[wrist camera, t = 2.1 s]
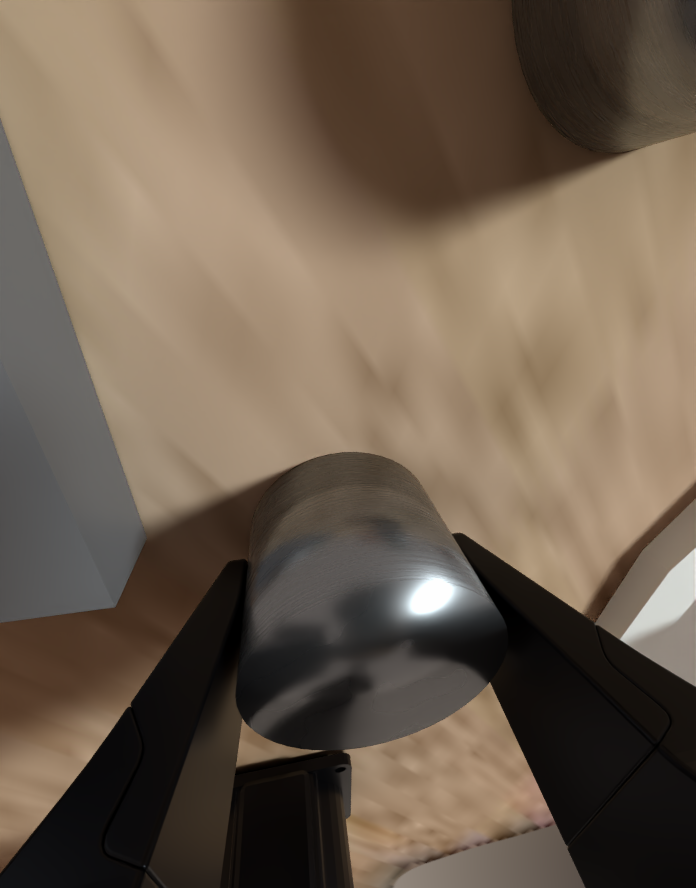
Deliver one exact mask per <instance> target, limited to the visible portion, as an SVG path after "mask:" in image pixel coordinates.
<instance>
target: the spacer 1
mask: <svg viewBox="0 0 696 888" xmlns="http://www.w3.org/2000/svg"><path fill="white" fill-rule="evenodd" d="M507 647H508V632H507V626H506V624H505V622H504V619H503V617H502V615H501V614H500V612H499V610H498V609H497V607H496V606H495V604H494V602H493V601H492V599H491V597H490V596H489V594H488V593H487V591H486V589H485V588H484V586H483V584H482V583H481V581H480V580H479V578H478V576H477V575H476V573H475V571H474V570H473V568H472V566H471V565H470V563H469V562H468V560H467V558H466V557H465V555H464V553H463V552H462V550H461V549H460V547H459V545H458V544H457V542H456V540H455V539H454V537H453V536H452V534H451V532H450V531H449V529H448V527H447V526H446V524H445V523H444V521H443V519H442V518H441V516H440V514H439V513H438V511H437V509H436V508H435V506H434V505H433V503H432V501H431V500H430V498H429V496H428V495H427V493H426V492H425V490H424V488H423V487H422V485H421V484H420V482H419V481H418V479H417V478H416V477H415V476H414V475H413V474H412V473H411V472H410V471H409V470H407V469H406V468H405V467H403V466H402V465H400V464H398V463H396V462H395V461H393V460H390V459H388V458H385V457H382V456H378V455H374V454H369V453H359V452H347V453H337V454H330V455H326V456H322V457H318V458H315V459H313V460H310V461H307V462H305V463H303V464H301V465H299V466H297V467H295V468H293V469H292V470H290V471H289V472H287V473H286V474H284V475H283V476H282V477H281V478H279V479H278V480H277V481H276V482H275V483H274V484H273V485H272V486H271V487H270V488H269V489H268V490H267V492H266V493H265V494H264V496H263V497H262V499H261V500H260V502H259V504H258V506H257V508H256V510H255V513H254V516H253V520H252V527H251V537H250V547H249V557H248V568H247V578H246V588H245V599H244V609H243V619H242V630H241V640H240V650H239V661H238V671H237V681H236V692H235V698H236V705H237V708H238V711H239V713H240V715H241V717H242V718H243V720H244V721H245V722H246V724H247V725H248V726H249V727H250V728H252V729H253V730H254V731H255V732H257V733H258V734H260V735H261V736H263V737H264V738H267V739H269V740H271V741H273V742H276V743H279V744H282V745H286V746H290V747H295V748H300V749H309V750H345V749H354V748H361V747H367V746H372V745H377V744H381V743H385V742H389V741H392V740H395V739H399V738H402V737H405V736H407V735H410V734H413V733H415V732H418V731H420V730H422V729H425V728H427V727H429V726H431V725H433V724H435V723H437V722H439V721H441V720H443V719H445V718H446V717H448V716H450V715H451V714H453V713H455V712H456V711H457V710H459V709H460V708H462V707H463V706H465V705H466V704H467V703H469V702H470V701H471V700H472V699H473V698H475V697H476V696H477V695H478V694H479V693H480V692H481V691H482V690H483V689H484V688H485V687H486V686H487V685H488V684H489V682H490V681H491V680H492V679H493V677H494V676H495V675H496V673H497V671H498V670H499V668H500V667H501V664H502V662H503V660H504V658H505V655H506V651H507Z"/></svg>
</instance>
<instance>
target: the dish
mask: <svg viewBox="0 0 696 888" xmlns="http://www.w3.org/2000/svg"><path fill="white" fill-rule="evenodd" d="M595 625H599V626H600V627H602V628H603V629H605V630H606V631H608V632H609V633H611V634H612V635H614V636H615V637H617V638H618V639H620V640H621V641H623V642H624V643H626V644H627V645H629V646H631V647H632V648H634V649H635V650H637V651H638V652H640V653H641V654H643V655H644V656H646V657H648V658H649V659H651V660H652V661H654V662H656V663H657V664H659V665H661V666H662V667H664V668H666V669H667V670H669V671H670V672H672V673H674V674H675V675H677V676H679V677H680V678H682V679H684V680H685V681H687V682H689V683H690V684H692V685H694V686H696V498H695V499H694V500H693V501H692V502H691V503H690V504H689V505H688V506H687V507H686V508H685V509H684V510H683V511H682V512H681V513H680V514H679V515H678V516H677V517H676V518H675V519H674V520H673V521H672V522H671V523H670V524H669V525H668V526H667V527H666V528H665V529H664V530H663V531H662V532H661V533H660V534H659V535H657V536H656V537H655V538H654V539H653V540H652V541H651V542H650V543H649V544H648V545H647V546H646V547H645V548H644V549H643V550H642V552H641V553H640V555H639V556H638V558H637V560H636V561H635V563H634V564H633V566H632V567H631V569H630V570H629V572H628V573H627V575H626V576H625V578H624V579H623V581H622V583H621V584H620V586H619V587H618V589H617V590H616V592H615V593H614V595H613V596H612V598H611V599H610V601H609V602H608V604H607V605H606V607H605V609H604V610H603V612H602V613H601V615H600V616H599V618H598V619H597V621H596V622H595Z"/></svg>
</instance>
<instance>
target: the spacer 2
mask: <svg viewBox="0 0 696 888" xmlns="http://www.w3.org/2000/svg"><path fill="white" fill-rule="evenodd" d="M512 18H513V26H514V33H515V40H516V46H517V51H518V55H519V59H520V63H521V67H522V71H523V74H524V76H525V79H526V81H527V84H528V87H529V89H530V92H531V94H532V96H533V98H534V100H535V101H536V103H537V105H538V107H539V109H540V111H541V112H542V113H543V115H544V116H545V117H546V119H547V120H548V121H549V122H550V124H551V125H552V126H553V127H554V128H555V129H556V130H557V131H558V132H559V133H560V134H561V135H563V136H564V137H565V138H567V139H568V140H570V141H571V142H573V143H575V144H576V145H578V146H581V147H584V148H586V149H589V150H592V151H598V152H604V153H615V152H626V151H630V150H635V149H639V148H643V147H646V146H650V145H653V144H657V143H660V142H664V141H667V140H671V139H674V138H677V137H681V136H684V135H688V134H691V133H695V132H696V0H512Z"/></svg>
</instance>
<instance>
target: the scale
mask: <svg viewBox="0 0 696 888" xmlns="http://www.w3.org/2000/svg"><path fill="white" fill-rule="evenodd" d="M146 539H147V536H146V533H145V531H144V528H143V525H142V522H141V519H140V516H139V513H138V511H137V508H136V505H135V502H134V499H133V496H132V493H131V491H130V488H129V485H128V482H127V479H126V476H125V473H124V471H123V468H122V465H121V462H120V459H119V456H118V454H117V451H116V448H115V445H114V442H113V439H112V436H111V434H110V431H109V428H108V425H107V422H106V419H105V416H104V414H103V411H102V408H101V405H100V402H99V399H98V396H97V394H96V391H95V388H94V385H93V382H92V379H91V376H90V374H89V371H88V368H87V365H86V362H85V359H84V356H83V354H82V351H81V348H80V345H79V342H78V339H77V336H76V334H75V331H74V328H73V325H72V322H71V319H70V316H69V314H68V311H67V308H66V305H65V302H64V299H63V296H62V294H61V291H60V288H59V285H58V282H57V279H56V276H55V274H54V271H53V268H52V265H51V262H50V259H49V256H48V254H47V251H46V248H45V245H44V242H43V239H42V236H41V234H40V231H39V228H38V225H37V222H36V219H35V216H34V214H33V211H32V208H31V205H30V202H29V199H28V196H27V194H26V191H25V188H24V185H23V182H22V179H21V176H20V174H19V171H18V168H17V165H16V162H15V159H14V156H13V154H12V151H11V148H10V145H9V142H8V139H7V137H6V134H5V131H4V128H3V125H2V122H1V119H0V623H2V622H10V621H17V620H25V619H32V618H39V617H47V616H54V615H62V614H69V613H76V612H84V611H91V610H99V609H106V608H114V607H116V605H117V603H118V600H119V598H120V596H121V594H122V592H123V590H124V587H125V585H126V583H127V581H128V579H129V576H130V574H131V572H132V570H133V568H134V565H135V563H136V561H137V559H138V557H139V555H140V552H141V550H142V548H143V546H144V544H145V541H146Z"/></svg>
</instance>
